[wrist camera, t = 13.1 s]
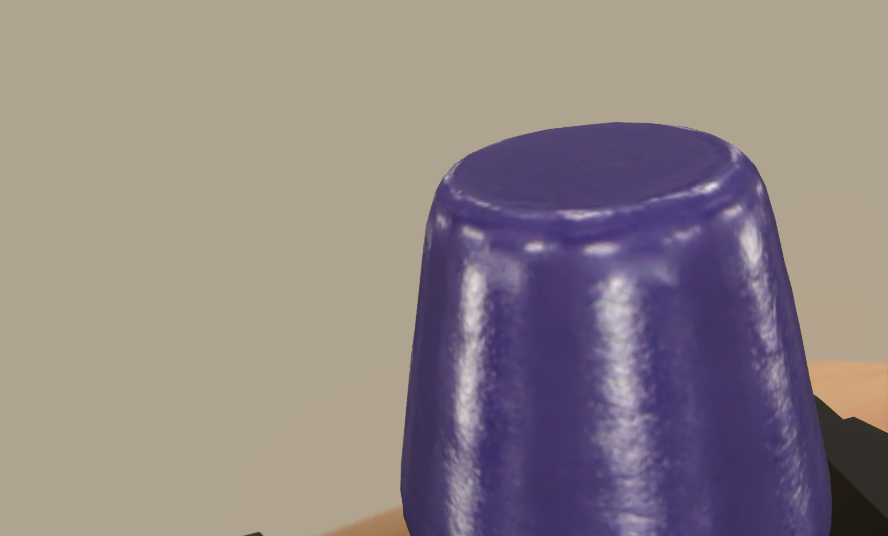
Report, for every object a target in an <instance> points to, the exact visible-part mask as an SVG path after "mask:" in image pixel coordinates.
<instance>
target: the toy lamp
mask: <svg viewBox="0 0 888 536" xmlns="http://www.w3.org/2000/svg"><path fill="white" fill-rule="evenodd" d="M400 487H401V488H400V490H401V497H402V503H403V516H404V519H405V522H406V525H407V527H408V530H409V533H410V535H411V536H829V533H830V529H831V513H832V496H831V484H830V473H829V468H828V463H827V458H826V453H825V448H824V443H823V437H822V432H821V428H820V423H819V418H818V414H817V409H816V405H815V400H814V395H813V391H812V386H811V382H810V377H809V372H808V367H807V361H806V356H805V351H804V346H803V341H802V336H801V331H800V325H799V321H798V316H797V312H796V307H795V302H794V297H793V292H792V287H791V284H790V280H789V276H788V273H787V269H786V266H785V262H784V257H783V253H782V248H781V243H780V239H779V234H778V230H777V225H776V220H775V217H774V213H773V210H772V206H771V203H770V200H769V196H768V193H767V189H766V186H765V184H764V182H763V180H762V178H761V176H760V174H759V172H758V170H757V168H756V167H755V165H754V164H753V163H752V162H751V161H750V160H749V158H748V157H747V156H746V155H745V154H744V153H742V152H741V151H740V150H739V149H737V148H736V147H735V146H734V145H732V144H730V143H728V142H726V141H724V140H722V139H720V138H718V137H716V136H714V135H712V134H709V133H705V132H701V131H698V130H694V129H691V128H687V127H681V126H671V125H662V124H652V123H623V122H622V123H621V122H620V123H619V122H613V123H600V124H589V125H581V126H572V127H564V128H555V129H548V130H543V131H538V132H533V133H529V134H525V135H520V136H516V137H512V138H509V139H505V140H502V141H500V142H497V143H494V144H492V145H489V146H487V147H484V148H482V149H480V150H478V151H476V152H473V153H472V154H469V155H468V156H466V157H465V158H463V159H462V160H460V161H459V162H457V163H456V164H454V166H453V167H452V168H451V169H450V170H449V171H448V172H447V174H446V175H445V176H444V177H443V179H442V181H441V182H440V184H439V186H438V188H437V190H436V192H435V195H434V199H433V202H432V206H431V210H430V213H429V217H428V221H427V224H426V230H425V238H424V246H423V255H422V265H421V275H420V285H419V295H418V305H417V314H416V323H415V332H414V339H413V346H412V353H411V364H410V374H409V385H408V395H407V406H406V417H405V428H404V437H403V449H402V460H401V486H400Z"/></svg>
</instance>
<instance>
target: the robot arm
mask: <svg viewBox="0 0 888 536" xmlns="http://www.w3.org/2000/svg"><path fill="white" fill-rule="evenodd" d="M814 400H815V405H816V409H817V414H818V418H819V423H820V428H821V432H822V437H823V443H824V448H825V453H826V458H827V463H828V468H829V473H830V484H831V496H832V513H831V529H830V533H829V536H888V433H887V432H884V431H882V430H880V429H878V428H876V427H874V426H872V425H870V424H868V423H866V422H864V421H862V420H860V419H857V418H855V417H851V418H847V419H842V418H841V417H840V416H839V415H838V414H836V413H835V412H834V411H833V410H832V409H831V408H830V407H829V406H827V405H826V404H825V403H824V402H823V401H822V400H821V399H819V398H818V397H817V396H815V395H814ZM245 536H263V535H262V534H261V533H260V532H257V533H253V534H249V535H245Z"/></svg>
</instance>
